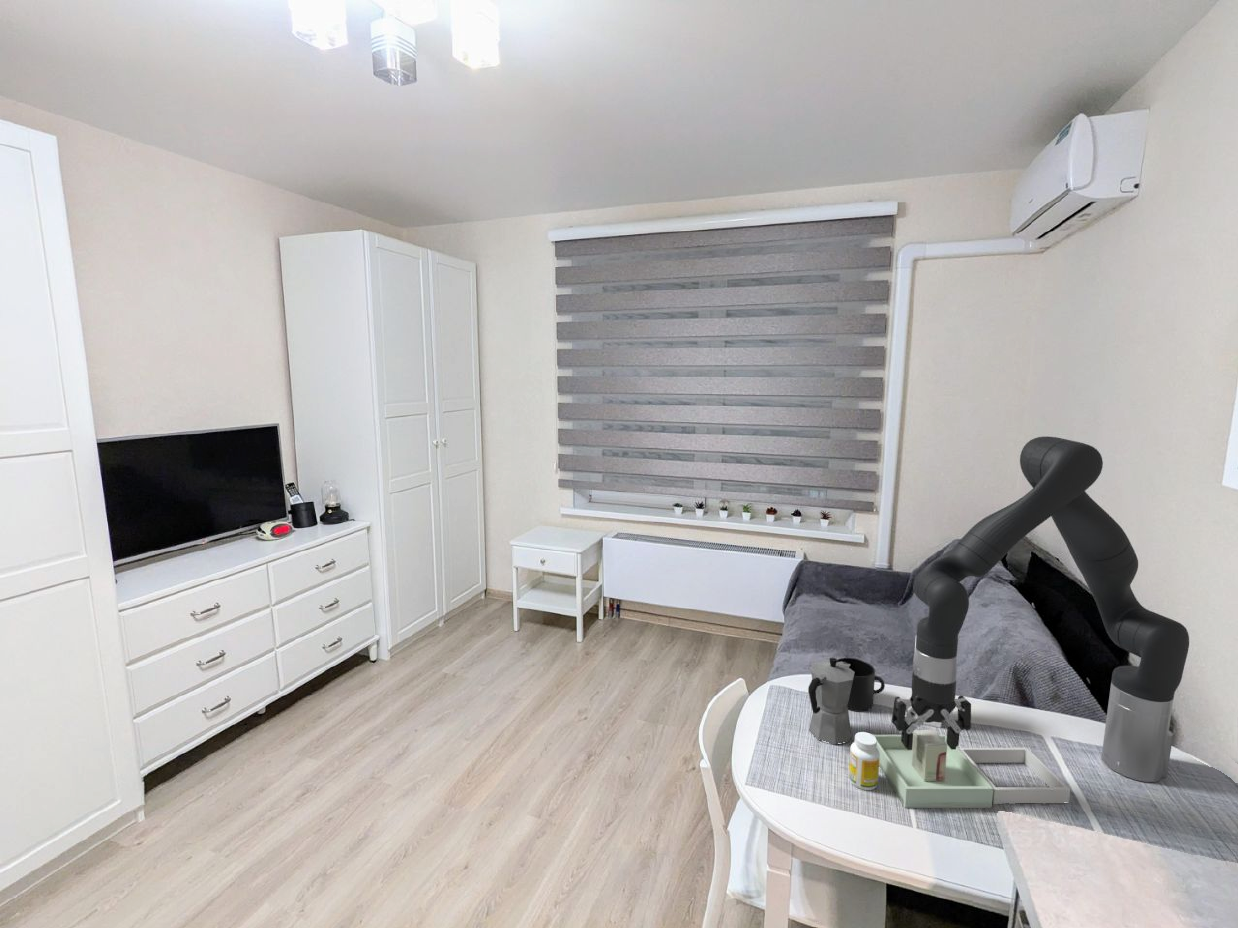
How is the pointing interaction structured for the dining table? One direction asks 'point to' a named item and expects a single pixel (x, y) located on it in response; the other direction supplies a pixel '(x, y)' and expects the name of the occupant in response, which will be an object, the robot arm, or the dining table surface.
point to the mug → (862, 684)
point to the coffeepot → (830, 700)
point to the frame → (1013, 795)
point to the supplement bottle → (864, 761)
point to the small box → (929, 755)
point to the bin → (953, 792)
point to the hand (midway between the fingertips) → (929, 747)
